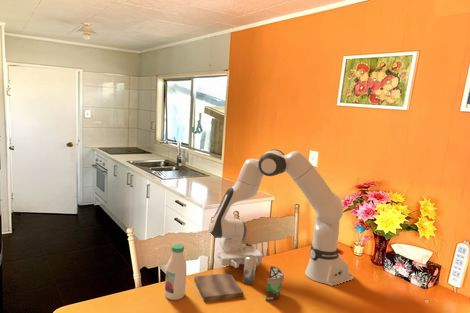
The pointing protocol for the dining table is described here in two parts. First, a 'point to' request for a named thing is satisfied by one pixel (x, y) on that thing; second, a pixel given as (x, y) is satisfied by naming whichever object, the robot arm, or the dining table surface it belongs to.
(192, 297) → the dining table surface
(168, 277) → the milk bottle
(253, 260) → the silver can
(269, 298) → the food container
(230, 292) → the walnut board
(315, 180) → the robot arm
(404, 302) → the dining table surface
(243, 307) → the dining table surface
